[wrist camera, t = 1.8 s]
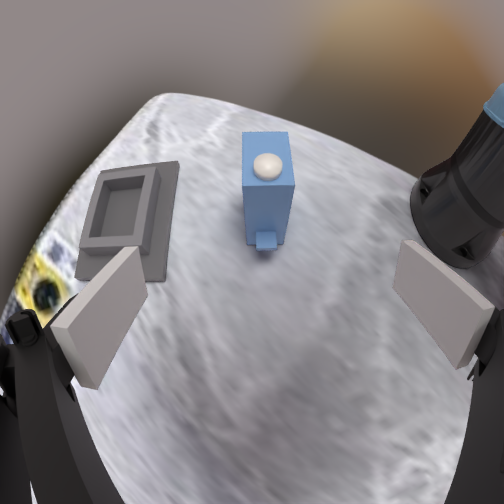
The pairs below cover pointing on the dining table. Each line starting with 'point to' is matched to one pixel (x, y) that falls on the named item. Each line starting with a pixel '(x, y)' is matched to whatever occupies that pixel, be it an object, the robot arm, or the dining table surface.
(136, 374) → the dining table surface
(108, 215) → the chassis
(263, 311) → the dining table surface
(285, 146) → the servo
